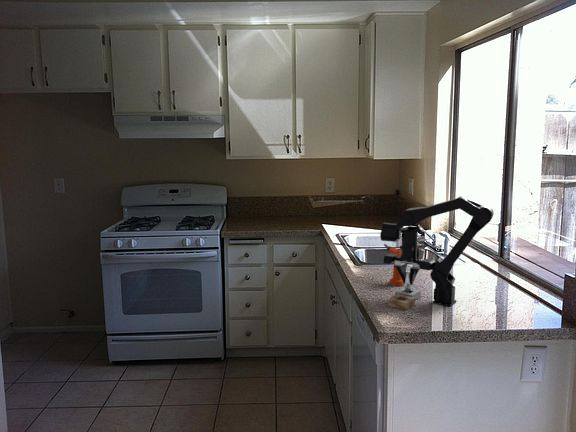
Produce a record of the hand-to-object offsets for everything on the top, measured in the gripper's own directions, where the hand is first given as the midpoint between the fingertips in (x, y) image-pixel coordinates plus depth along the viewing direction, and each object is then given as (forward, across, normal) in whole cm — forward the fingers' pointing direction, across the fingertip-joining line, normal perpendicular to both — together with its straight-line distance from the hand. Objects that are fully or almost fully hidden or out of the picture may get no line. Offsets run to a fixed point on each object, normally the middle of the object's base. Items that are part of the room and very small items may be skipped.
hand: (408, 284), depth 191 cm
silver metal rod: (+4, 0, 0) cm, 4 cm away
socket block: (+5, -2, +9) cm, 11 cm away
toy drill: (+6, +15, -17) cm, 23 cm away
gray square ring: (+5, 0, 0) cm, 5 cm away
